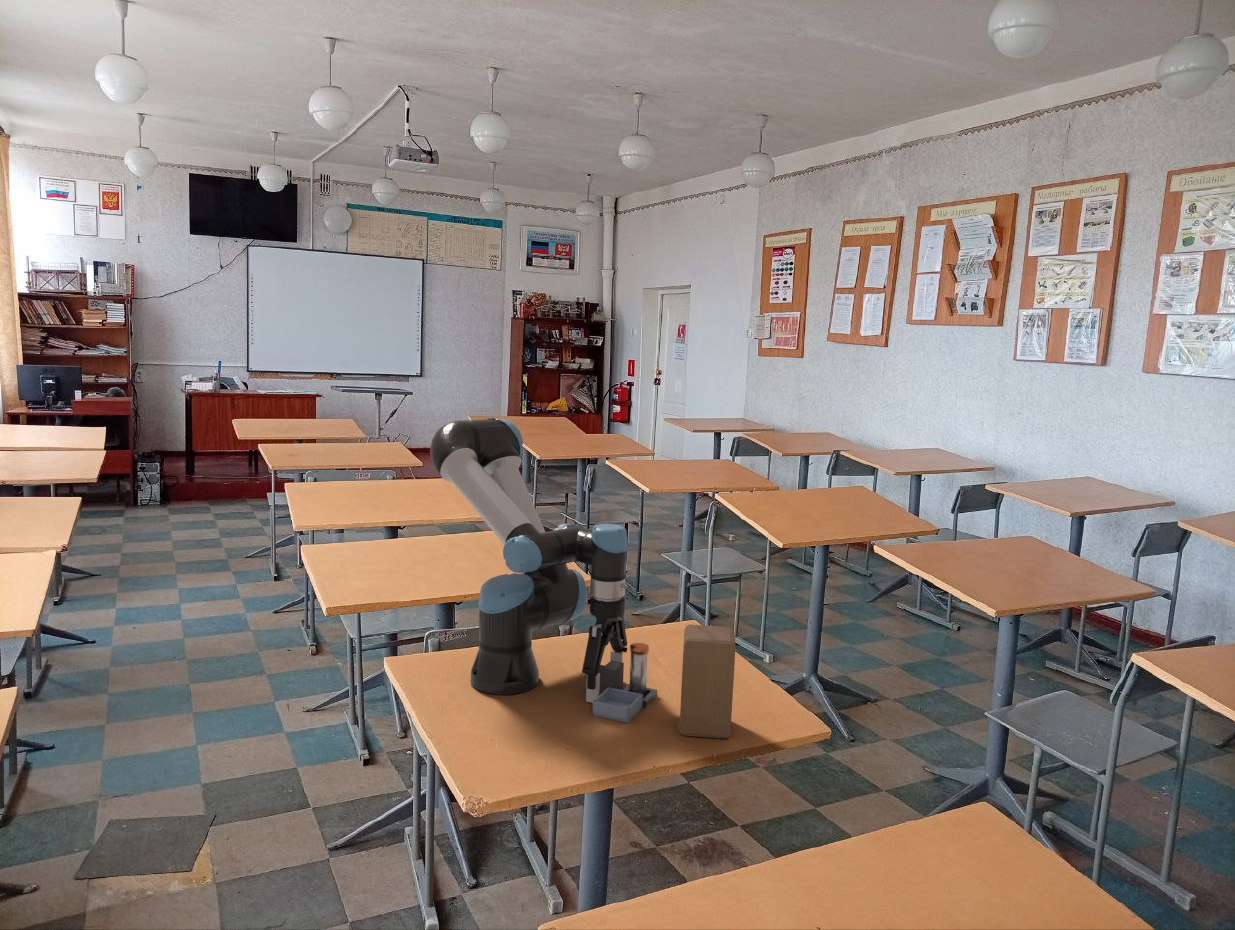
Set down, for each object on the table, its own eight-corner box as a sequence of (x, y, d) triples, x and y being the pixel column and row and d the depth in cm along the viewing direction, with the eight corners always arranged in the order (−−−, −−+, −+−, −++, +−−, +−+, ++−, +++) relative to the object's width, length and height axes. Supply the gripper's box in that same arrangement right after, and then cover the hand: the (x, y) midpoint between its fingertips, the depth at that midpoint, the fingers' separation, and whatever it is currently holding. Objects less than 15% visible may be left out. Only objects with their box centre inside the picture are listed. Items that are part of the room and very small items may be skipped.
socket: (617, 702, 185) (617, 695, 185) (628, 690, 191) (628, 684, 191) (646, 708, 183) (646, 701, 183) (656, 696, 189) (657, 689, 189)
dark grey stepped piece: (584, 693, 189) (585, 664, 188) (593, 684, 194) (594, 657, 193) (614, 699, 187) (615, 670, 186) (622, 690, 191) (623, 662, 190)
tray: (592, 715, 178) (592, 701, 178) (607, 700, 186) (607, 687, 185) (628, 722, 176) (629, 708, 175) (642, 707, 183) (643, 694, 182)
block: (728, 718, 179) (734, 625, 176) (730, 741, 169) (736, 643, 166) (680, 714, 180) (685, 622, 177) (679, 736, 170) (683, 639, 167)
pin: (625, 701, 186) (627, 647, 184) (632, 694, 190) (634, 641, 188) (642, 704, 184) (645, 650, 183) (649, 697, 188) (651, 644, 186)
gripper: (601, 615, 174) (598, 716, 178) (643, 584, 197) (640, 674, 200) (567, 609, 177) (564, 709, 180) (613, 579, 200) (610, 668, 203)
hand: (604, 690), depth 190 cm, fingers open, 12 cm apart
